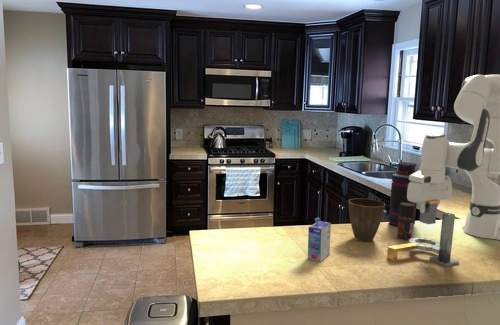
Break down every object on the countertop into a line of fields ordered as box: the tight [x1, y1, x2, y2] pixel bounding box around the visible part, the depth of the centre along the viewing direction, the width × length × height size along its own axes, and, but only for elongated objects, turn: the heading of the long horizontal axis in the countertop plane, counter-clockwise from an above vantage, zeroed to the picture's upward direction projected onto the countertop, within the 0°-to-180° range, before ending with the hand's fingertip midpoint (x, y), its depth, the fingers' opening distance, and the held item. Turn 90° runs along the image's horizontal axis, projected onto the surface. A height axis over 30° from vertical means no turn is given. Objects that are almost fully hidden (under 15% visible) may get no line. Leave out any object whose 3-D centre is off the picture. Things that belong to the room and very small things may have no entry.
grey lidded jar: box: [419, 200, 439, 225], centre depth 157 cm, size 5×5×9 cm
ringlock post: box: [386, 212, 460, 267], centre depth 153 cm, size 23×18×18 cm
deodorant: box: [396, 202, 415, 241], centre depth 177 cm, size 6×6×15 cm
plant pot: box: [348, 198, 386, 243], centre depth 174 cm, size 15×15×16 cm
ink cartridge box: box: [307, 216, 332, 262], centre depth 152 cm, size 10×6×14 cm, turn 149°
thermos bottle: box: [388, 161, 420, 227], centre depth 196 cm, size 14×12×30 cm
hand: (428, 211), depth 157 cm, fingers closed on grey lidded jar, 4 cm apart
